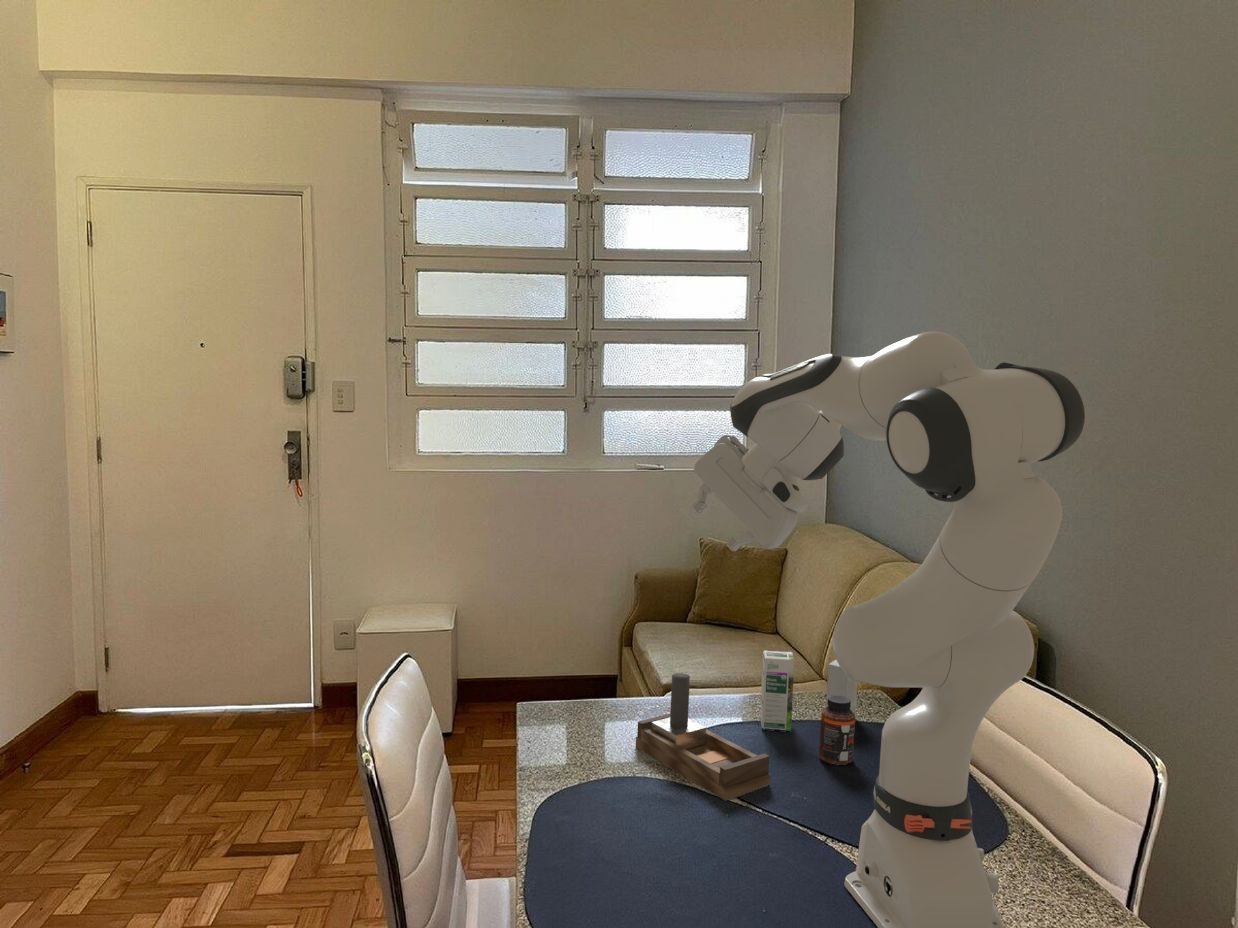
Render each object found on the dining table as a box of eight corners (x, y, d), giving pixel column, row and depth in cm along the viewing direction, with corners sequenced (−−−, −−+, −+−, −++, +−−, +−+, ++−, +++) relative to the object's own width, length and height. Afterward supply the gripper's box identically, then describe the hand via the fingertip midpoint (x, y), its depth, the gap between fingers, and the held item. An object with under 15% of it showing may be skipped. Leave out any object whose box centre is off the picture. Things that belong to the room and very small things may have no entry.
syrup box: (761, 730, 167) (765, 657, 166) (759, 718, 173) (763, 648, 172) (791, 732, 166) (795, 659, 165) (788, 721, 172) (792, 650, 171)
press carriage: (705, 743, 154) (708, 678, 153) (675, 752, 150) (678, 685, 149) (680, 730, 160) (683, 667, 159) (650, 738, 156) (653, 673, 155)
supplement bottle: (853, 768, 151) (857, 706, 150) (819, 764, 152) (822, 702, 151) (851, 754, 157) (855, 694, 156) (818, 751, 158) (821, 691, 157)
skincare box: (835, 712, 178) (839, 656, 176) (855, 718, 175) (859, 660, 174) (824, 721, 173) (827, 663, 172) (844, 727, 170) (848, 668, 169)
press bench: (770, 785, 144) (771, 756, 143) (724, 800, 138) (726, 770, 137) (678, 735, 163) (679, 709, 163) (635, 747, 157) (636, 720, 157)
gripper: (720, 425, 145) (667, 485, 149) (801, 507, 135) (742, 569, 139) (735, 433, 151) (684, 490, 154) (815, 512, 140) (758, 572, 144)
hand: (712, 528), depth 146 cm, fingers open, 8 cm apart
